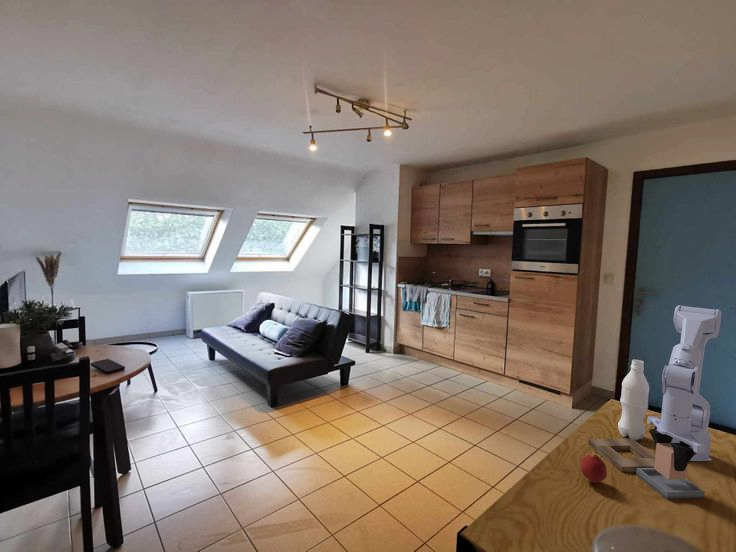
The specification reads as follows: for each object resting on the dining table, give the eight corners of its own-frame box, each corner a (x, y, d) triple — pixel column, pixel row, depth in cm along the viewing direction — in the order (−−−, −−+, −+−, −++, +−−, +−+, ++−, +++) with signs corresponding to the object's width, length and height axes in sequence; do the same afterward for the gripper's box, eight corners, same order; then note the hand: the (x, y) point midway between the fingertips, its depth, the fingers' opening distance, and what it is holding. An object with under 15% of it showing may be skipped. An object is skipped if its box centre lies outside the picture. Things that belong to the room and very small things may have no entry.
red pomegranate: (598, 476, 99) (600, 447, 98) (610, 490, 93) (612, 460, 93) (575, 474, 100) (577, 445, 99) (585, 488, 94) (588, 458, 93)
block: (670, 468, 98) (672, 442, 97) (685, 479, 93) (688, 452, 93) (653, 468, 97) (656, 443, 97) (668, 479, 93) (671, 453, 92)
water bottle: (639, 433, 122) (647, 359, 120) (648, 444, 116) (656, 366, 113) (614, 429, 125) (621, 356, 122) (621, 439, 118) (628, 362, 115)
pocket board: (631, 443, 116) (631, 438, 116) (670, 471, 102) (670, 465, 102) (588, 443, 115) (588, 439, 115) (621, 471, 101) (621, 466, 101)
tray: (669, 473, 101) (670, 467, 101) (703, 498, 91) (704, 491, 91) (636, 474, 100) (636, 468, 100) (666, 499, 91) (667, 492, 90)
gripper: (638, 400, 101) (633, 448, 102) (687, 427, 86) (681, 482, 88) (663, 400, 101) (658, 448, 102) (716, 427, 87) (709, 482, 88)
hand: (670, 464), depth 95 cm, fingers closed on block, 4 cm apart
